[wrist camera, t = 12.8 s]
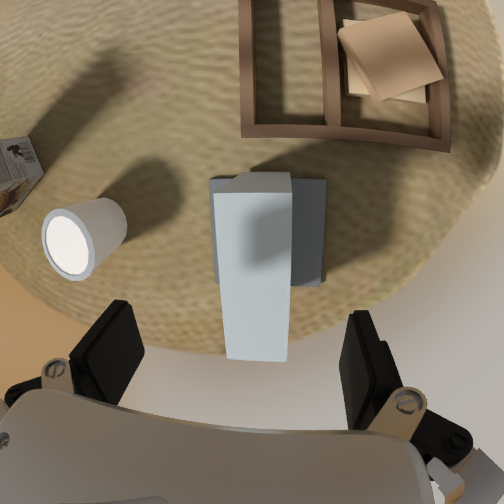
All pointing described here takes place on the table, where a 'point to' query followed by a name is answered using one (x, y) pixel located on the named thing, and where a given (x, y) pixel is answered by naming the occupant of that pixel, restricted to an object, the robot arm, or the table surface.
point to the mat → (295, 229)
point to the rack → (438, 91)
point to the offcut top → (389, 55)
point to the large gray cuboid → (255, 263)
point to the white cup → (83, 236)
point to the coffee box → (17, 172)
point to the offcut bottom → (358, 89)
